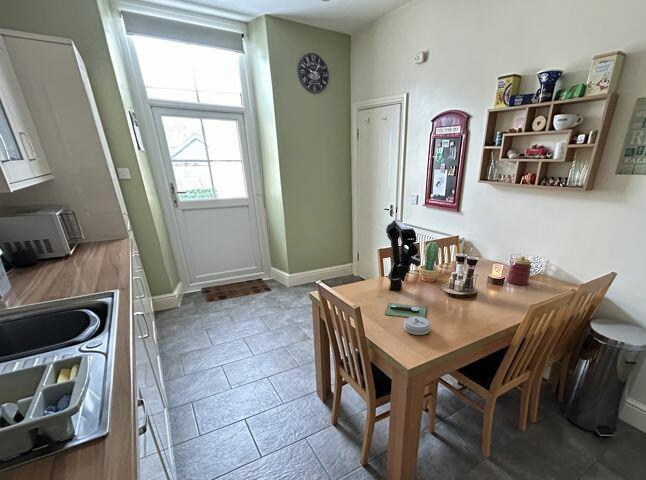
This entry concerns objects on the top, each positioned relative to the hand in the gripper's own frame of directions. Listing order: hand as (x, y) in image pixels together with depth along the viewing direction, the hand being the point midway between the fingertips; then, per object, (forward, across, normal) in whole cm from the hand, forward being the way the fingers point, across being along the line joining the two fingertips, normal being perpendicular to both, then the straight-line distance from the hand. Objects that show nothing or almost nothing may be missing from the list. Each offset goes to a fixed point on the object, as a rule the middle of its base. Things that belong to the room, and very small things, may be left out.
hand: (404, 278), depth 184 cm
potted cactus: (+12, +36, -13) cm, 40 cm away
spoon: (+12, -17, -3) cm, 21 cm away
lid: (+12, -36, -11) cm, 40 cm away
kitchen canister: (+12, +47, -71) cm, 86 cm away
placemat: (+12, -17, -4) cm, 21 cm away
